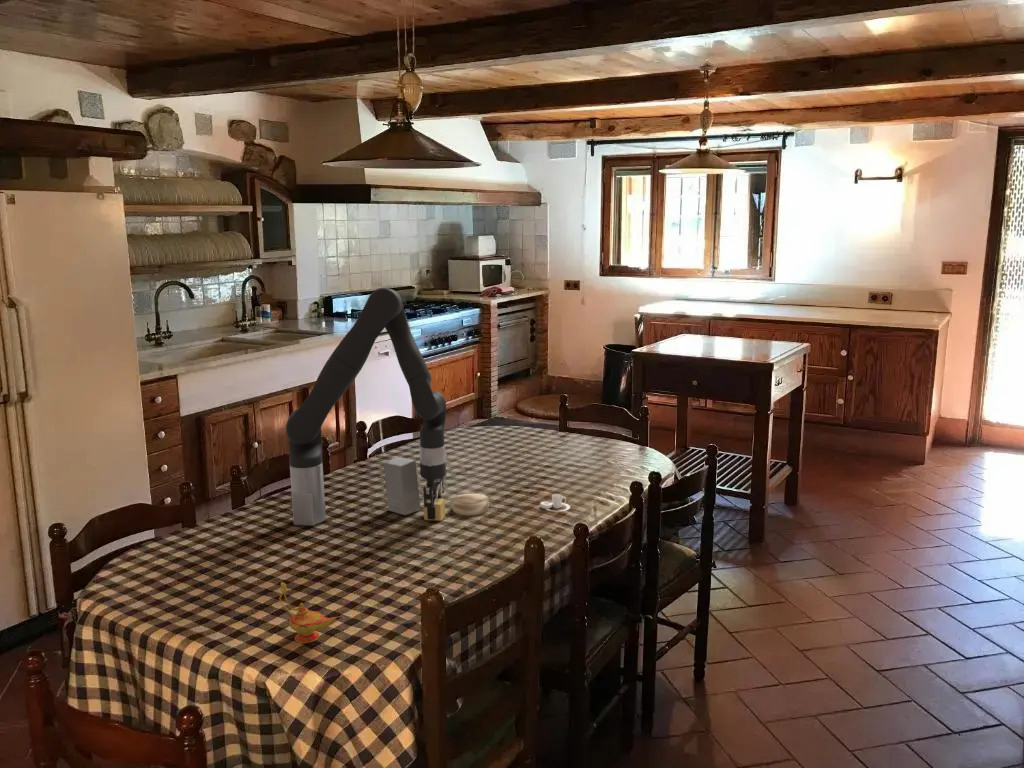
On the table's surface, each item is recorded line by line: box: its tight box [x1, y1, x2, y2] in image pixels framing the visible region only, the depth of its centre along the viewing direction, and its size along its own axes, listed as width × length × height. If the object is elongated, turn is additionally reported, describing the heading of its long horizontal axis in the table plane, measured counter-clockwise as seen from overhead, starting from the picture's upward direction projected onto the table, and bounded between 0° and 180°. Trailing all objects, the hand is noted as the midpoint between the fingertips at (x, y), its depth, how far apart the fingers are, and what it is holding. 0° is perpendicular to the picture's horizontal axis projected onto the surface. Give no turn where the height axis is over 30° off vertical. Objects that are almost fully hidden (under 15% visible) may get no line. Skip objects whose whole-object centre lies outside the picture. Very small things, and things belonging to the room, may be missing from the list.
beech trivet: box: [451, 493, 490, 516], centre depth 248 cm, size 11×11×3 cm
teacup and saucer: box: [539, 493, 571, 513], centre depth 248 cm, size 9×8×4 cm
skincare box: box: [382, 456, 421, 516], centre depth 246 cm, size 8×7×16 cm
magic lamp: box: [278, 581, 345, 644], centre depth 171 cm, size 7×18×11 cm, turn 60°
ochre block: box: [423, 498, 446, 522], centre depth 241 cm, size 5×5×5 cm
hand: (434, 514), depth 241 cm, fingers open, 7 cm apart
